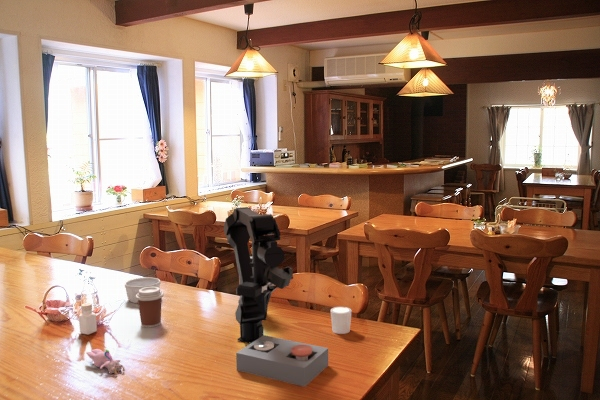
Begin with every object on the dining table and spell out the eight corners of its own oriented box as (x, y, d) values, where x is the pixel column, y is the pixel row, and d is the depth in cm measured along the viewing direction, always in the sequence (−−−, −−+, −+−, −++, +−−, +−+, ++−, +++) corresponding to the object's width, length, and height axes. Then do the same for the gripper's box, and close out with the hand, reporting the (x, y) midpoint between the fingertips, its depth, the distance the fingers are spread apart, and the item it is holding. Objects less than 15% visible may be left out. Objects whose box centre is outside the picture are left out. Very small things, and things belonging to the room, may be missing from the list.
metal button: (250, 365, 152) (250, 346, 152) (261, 357, 157) (260, 339, 156) (267, 369, 150) (267, 350, 149) (278, 361, 154) (277, 343, 154)
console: (236, 370, 149) (236, 352, 149) (264, 351, 162) (263, 335, 161) (304, 386, 139) (304, 368, 139) (328, 365, 152) (328, 348, 151)
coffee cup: (144, 331, 179) (142, 295, 177) (132, 323, 186) (130, 289, 184) (169, 324, 185) (168, 289, 183) (157, 317, 192) (155, 284, 190)
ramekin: (146, 291, 222) (145, 275, 221) (168, 297, 214) (167, 280, 213) (118, 300, 211) (117, 283, 210) (140, 306, 203) (139, 288, 202)
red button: (287, 370, 146) (287, 350, 146) (297, 362, 151) (297, 343, 151) (306, 374, 144) (306, 354, 143) (316, 366, 149) (315, 346, 148)
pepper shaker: (79, 333, 178) (77, 305, 177) (89, 329, 181) (87, 301, 180) (87, 335, 176) (85, 307, 175) (97, 331, 179) (95, 303, 178)
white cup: (350, 335, 173) (350, 314, 172) (328, 333, 174) (328, 312, 173) (352, 327, 180) (352, 306, 179) (332, 326, 181) (331, 305, 180)
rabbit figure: (129, 374, 151) (98, 353, 160) (130, 355, 150) (99, 334, 158) (109, 383, 146) (78, 360, 155) (110, 363, 145) (79, 341, 153)
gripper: (269, 269, 143) (270, 327, 145) (303, 254, 159) (303, 306, 162) (234, 265, 149) (236, 320, 151) (270, 250, 165) (271, 301, 167)
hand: (263, 311), depth 157 cm, fingers closed
